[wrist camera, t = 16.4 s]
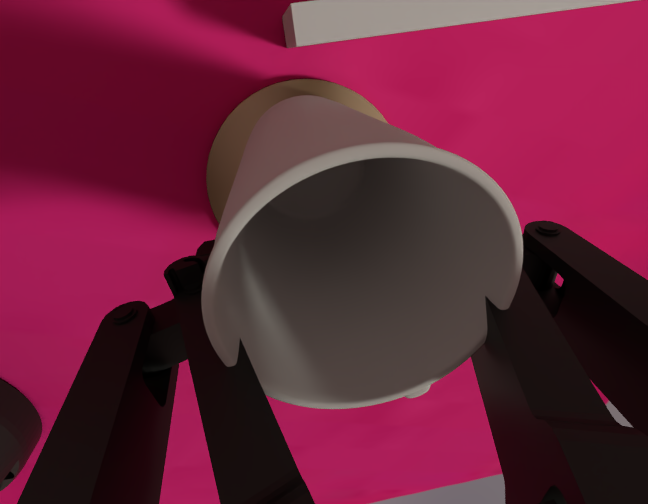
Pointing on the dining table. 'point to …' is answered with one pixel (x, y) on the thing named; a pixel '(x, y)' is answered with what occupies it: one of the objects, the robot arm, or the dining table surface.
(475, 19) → the channel
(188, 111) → the dining table surface
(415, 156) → the mug
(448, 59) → the dining table surface
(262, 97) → the coaster
